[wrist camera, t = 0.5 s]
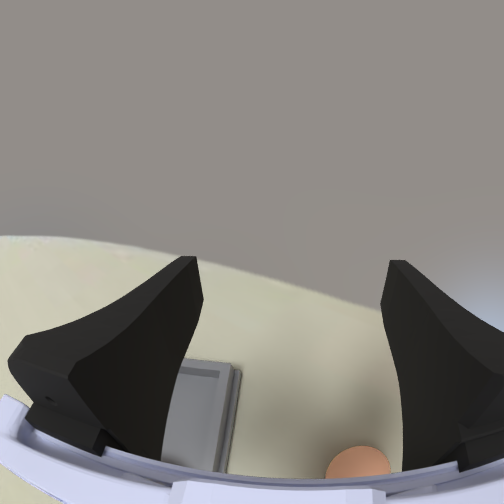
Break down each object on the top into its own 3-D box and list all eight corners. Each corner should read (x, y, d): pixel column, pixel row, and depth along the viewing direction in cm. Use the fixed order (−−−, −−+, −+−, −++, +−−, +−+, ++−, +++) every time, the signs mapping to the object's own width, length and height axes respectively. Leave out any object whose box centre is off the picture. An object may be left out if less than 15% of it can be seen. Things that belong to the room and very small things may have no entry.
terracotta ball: (379, 500, 17) (397, 501, 14) (319, 503, 18) (326, 507, 14) (381, 447, 21) (399, 438, 17) (324, 450, 21) (331, 442, 18)
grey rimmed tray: (213, 545, 16) (204, 551, 14) (83, 501, 18) (64, 499, 16) (241, 374, 28) (236, 361, 25) (121, 357, 30) (108, 344, 27)
